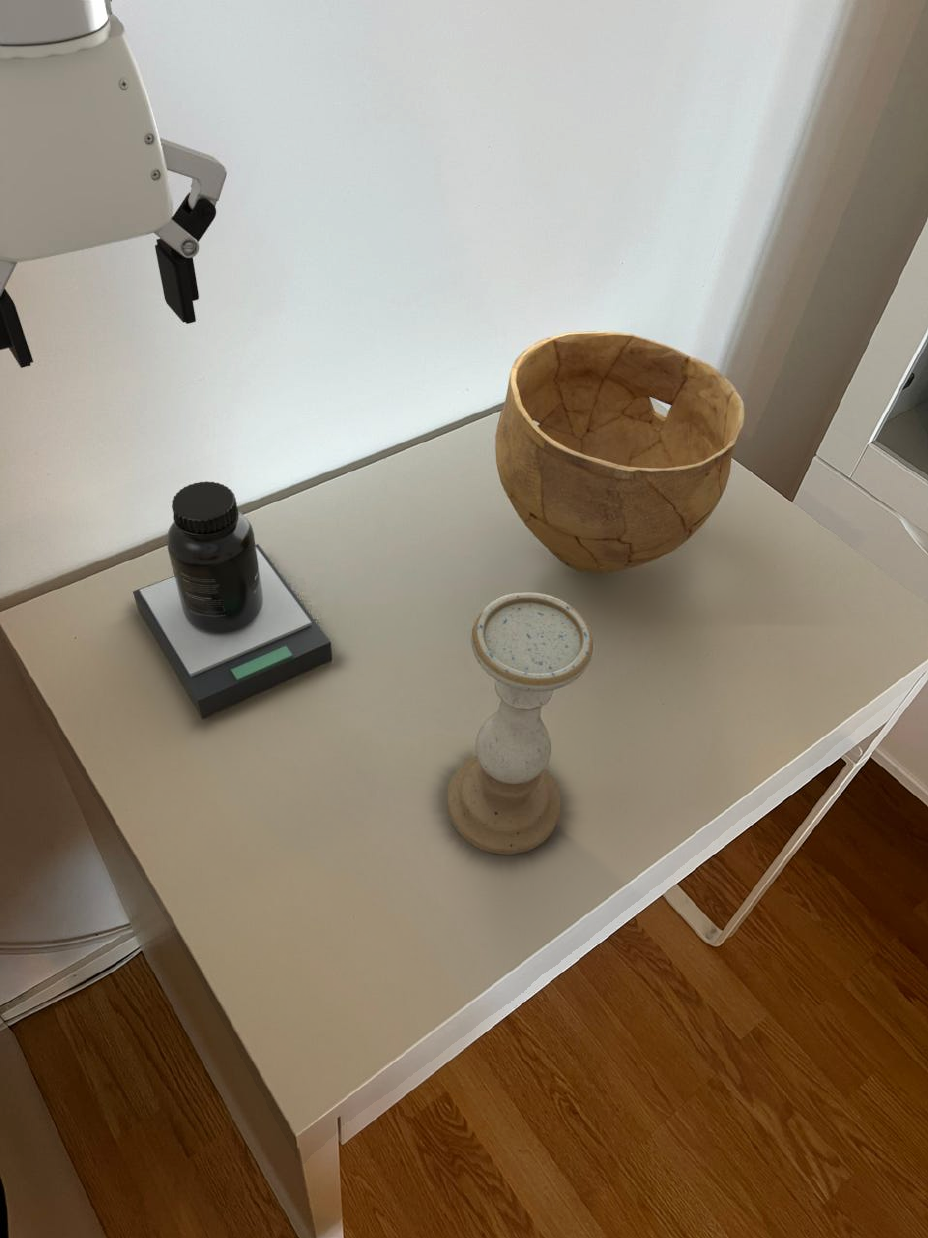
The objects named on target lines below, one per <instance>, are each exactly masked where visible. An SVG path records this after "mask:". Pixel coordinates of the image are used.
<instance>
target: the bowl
mask: <svg viewBox="0 0 928 1238" xmlns="http://www.w3.org/2000/svg"><path fill="white" fill-rule="evenodd" d="M737 390H738V389H736V387H735V386H734V384H732V382H731V381H730V380H729V379H728V378H727V377H726V376H724V375H723V374H722V373H721V372H720V371H719V370H718V369H716V368H715V367H714V366H713V365H711V364H709V363H708V362H705V361H703V360H702V359H699V358H697V357H696V358H695V357H693V356H690V355H688V354H686V353H684V352H683V351H680V350H678V349H675V348H674V347H672V346H669V345H667V344H664V343H661V342H658V341H655V340H653V339H649V338H645V337H642V336H639V335H635V334H631V333H625V332H619V331H618V332H617V331H596V330H593V331H591V330H589V331H571V332H569V331H568V332H564V333H560V334H557V335H553V336H549V337H546V338H544V339H540V340H538V341H537V342H535V343H534V344H531V346H529V347H528V348H526V349H525V350H523V351H522V352H521V354H519V356H518V357H517V358H516V359H515V360H514V362H513V364H512V367H511V370H510V372H509V377H508V384H507V389H506V394H505V399H504V400H505V401H504V404H503V407H502V408H501V411H500V414H499V416H498V420H497V425H496V431H495V435H494V436H495V437H494V451H495V464H496V469H497V473H498V477H499V480H500V483H501V486H502V488H503V491H504V493H505V494H506V496H507V498H508V500H509V501H510V503H511V505H512V507H513V508H514V510H515V512H516V514H517V515H518V517H519V519H520V520H521V521H522V523H523V524H524V525H525V527H526V528H527V529H528V530H529V532H531V533H532V534H533V536H534V537H535V538H536V539H537V540H538V541H539V542H540V543H541V544H542V545H543V546H544V547H545V548H546V549H547V550H548V551H549V552H550V553H551V555H553V556H554V558H556V559H557V560H558V561H560V563H562V564H564V565H565V566H567V567H569V568H571V569H573V570H575V571H577V572H581V573H585V574H595V575H603V574H612V573H616V572H619V571H624V570H627V569H630V568H634V567H637V566H640V565H643V564H647V563H651V562H652V561H655V560H658V559H660V558H663V556H665V555H668V554H670V553H672V552H674V551H676V550H677V549H678V548H679V547H681V546H682V545H684V543H686V542H687V541H688V540H689V539H691V538H692V537H693V536H694V535H695V534H696V533H697V532H698V530H699V529H700V528H701V527H702V526H703V525H704V524H705V523H706V521H707V520H708V519H709V517H711V515H712V513H713V512H714V510H715V509H716V507H717V506H718V505H719V502H720V501H721V499H722V497H723V495H724V493H725V490H726V488H727V486H728V485H727V484H728V481H729V478H730V474H731V467H732V459H733V455H734V452H735V449H736V446H737V443H738V438H739V435H740V432H741V431H742V428H743V427H744V421H745V404H744V401H743V399H742V397H741V395H740V394H739V393H738V391H737ZM652 399H653V400H656V401H659V402H661V403H663V404H666V405H669V409H668V411H667V414H666V416H664V415H663V414H660V413H659V412H656V410H655V408H654V405H653V403H652ZM535 422H536V423H538V424H536V423H535Z"/></svg>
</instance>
